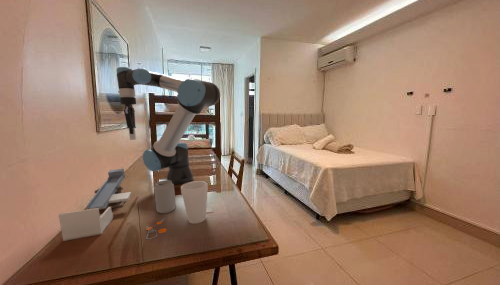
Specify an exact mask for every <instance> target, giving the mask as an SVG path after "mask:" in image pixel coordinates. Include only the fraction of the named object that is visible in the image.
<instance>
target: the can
mask: <svg viewBox="0 0 500 285" xmlns="http://www.w3.org/2000/svg"><path fill="white" fill-rule="evenodd" d="M153 191H154V200H155V201H154V202H155V207H156V208H155V209H156V212H157V213H159V214H164V215H165V214H169V213H172V212H173V211H174V210H175V209H176V208H177V203H176V194H175V184H173V183H172V181H170V180H167V179H166V180H159V181H157V182H156V183H155V185H154V187H153Z"/></svg>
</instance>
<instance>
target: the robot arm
mask: <svg viewBox="0 0 500 285" xmlns="http://www.w3.org/2000/svg"><path fill="white" fill-rule="evenodd" d="M116 78H117V79H116V80H117V87H118V92H117V93H118V94H119V97H120V98H119V101H120V105H123V106H124V109H123V113H124V117H125V122H126V129H128V136H129V140H130V141H132V140H133V141H134V140H137V136H136V128H137V126H136V114H135V112H136V111H135V107H134V106H133V105H136V104H137V99H136V90H135V86H136V85H139V86H140V85H142V86H151V87H157V88H161V89H165V90H168V91H171V92H175V93H177V96H176V97H177V105H178V106H177V108H176V109H175V112H174V113H173V115H172V117H171V119H170V121H169V122H168V124H167V126H166V128H165V129H164V131H163V133H162V135H161V137H160V138H159V140H156V141H154V143H153V145H152V146H151V148H149V149H146V150H144V151H143V153H142V161H143V164H144V166H145V167H146V169H147V170H148V171H150V172H156V171H161V170H163V169H164V170H165V169H167V168H168V171H167V176H166V180H170V181H172V183H173V184H174V185H179V184H180V185H181V184H182V185H183V184H186V183H189V182H192V181H193V180H194V174H193V172H192V169H191V167H190V159H189V147H188V143H186V142H180V141H181V140H182V138H183V136H184V134H185V133H186V132H187V130H188V128H189V126H190V125H191V123H192V121H193V120H194V117H195V116H196V115H200V114H201V113H202V111H203V109H205V107H212V106H215V105H216V104H217V103H218V102H219V101H220V98H221V91H220V89H219V87H218V85H216V84H215V83H213V82H210V81H205V80H200V79H197V78H188V79H187V78H186V79H183V78H179V77H174V76H170V75H167V74H164V73H158V72H153V71H150V70H148V69H146V68H143V67H142V68H136V69H132V68H131V67H127V66H118V67H117V68H116Z"/></svg>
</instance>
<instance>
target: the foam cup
mask: <svg viewBox="0 0 500 285" xmlns="http://www.w3.org/2000/svg"><path fill="white" fill-rule="evenodd" d="M208 192H209V185H208V182H207V181H204V180H196V181H189V182H186V183H182V185H181V186H180V193H181V196H182V199H183V200H182V201H183V204H184V207H185V212H186V216H187V221H188V223H189V224H200V223H202V222H204V221H205V220H206V218H207V207H208V206H207V204H208Z"/></svg>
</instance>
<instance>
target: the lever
mask: <svg viewBox="0 0 500 285" xmlns="http://www.w3.org/2000/svg"><path fill="white" fill-rule="evenodd" d="M107 174H108V177H107V179H105V181H104V182H103V184H102V185H101V186H100V187H99V188H100V189H99V188H98V189H99V190H98V192H97V193H94V195H93V197H92V198H91V199H90V200H89V202H88V203H87V204H86V208H87V209H94V208H99V209H103V208H106V207H107V206H108V204H109V203H113V202H120V201H126V202H127V201H129V200H130V198H131V196H132V191H128V192H127V191H126V192H121V193H120V194H115V192H116V191H117V187H118V186H121V184H122V183H123V181H124V180H125V178H126V175H125V169H124V168H119V169H117V168H115V169H109V171H108V172H107ZM87 209H86V210H87ZM103 210H104V209H103Z"/></svg>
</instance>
